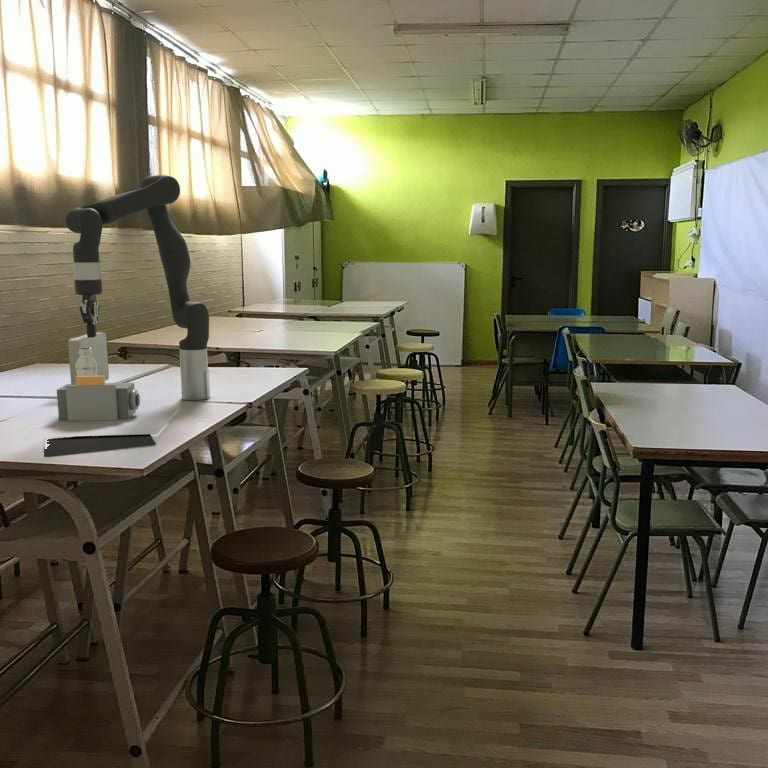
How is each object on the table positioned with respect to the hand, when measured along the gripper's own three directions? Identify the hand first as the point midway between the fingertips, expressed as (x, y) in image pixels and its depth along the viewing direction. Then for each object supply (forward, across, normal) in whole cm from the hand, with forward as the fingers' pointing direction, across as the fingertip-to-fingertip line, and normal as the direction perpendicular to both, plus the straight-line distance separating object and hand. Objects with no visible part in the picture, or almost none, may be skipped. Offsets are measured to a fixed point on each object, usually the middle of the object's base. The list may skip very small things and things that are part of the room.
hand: (92, 337), depth 224 cm
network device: (+25, +54, +16) cm, 62 cm away
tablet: (+26, -30, -8) cm, 40 cm away
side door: (+24, -5, 0) cm, 25 cm away
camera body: (+25, +1, -1) cm, 25 cm away
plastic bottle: (+25, +14, +6) cm, 29 cm away
